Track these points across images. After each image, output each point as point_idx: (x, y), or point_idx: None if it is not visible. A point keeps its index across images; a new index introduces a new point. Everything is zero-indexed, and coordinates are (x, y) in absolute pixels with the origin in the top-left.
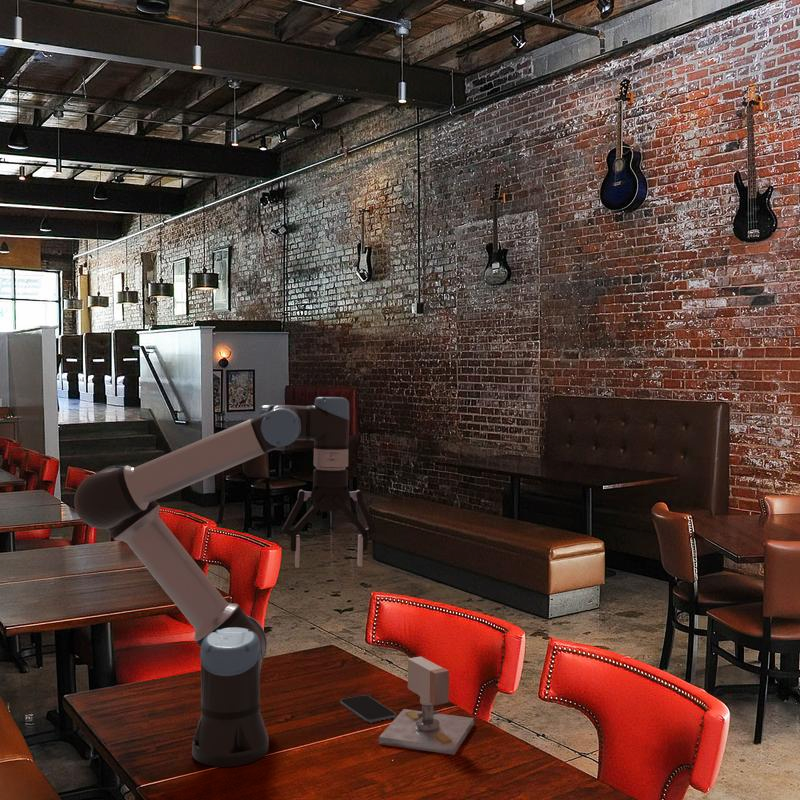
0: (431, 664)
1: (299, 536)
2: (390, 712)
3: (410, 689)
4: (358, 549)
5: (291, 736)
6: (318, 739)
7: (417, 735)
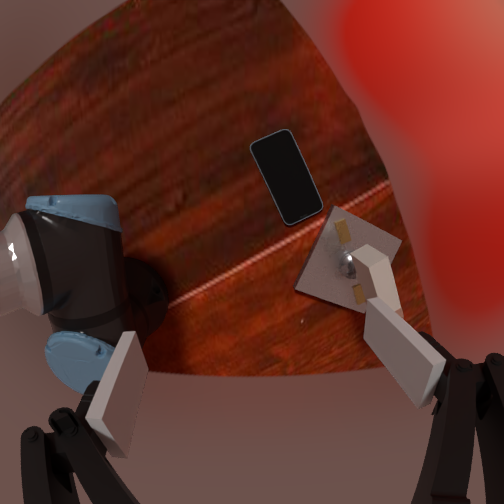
0: (392, 293)
1: (118, 446)
2: (316, 200)
3: (352, 259)
4: (394, 354)
5: (189, 260)
6: (222, 270)
7: (336, 286)
